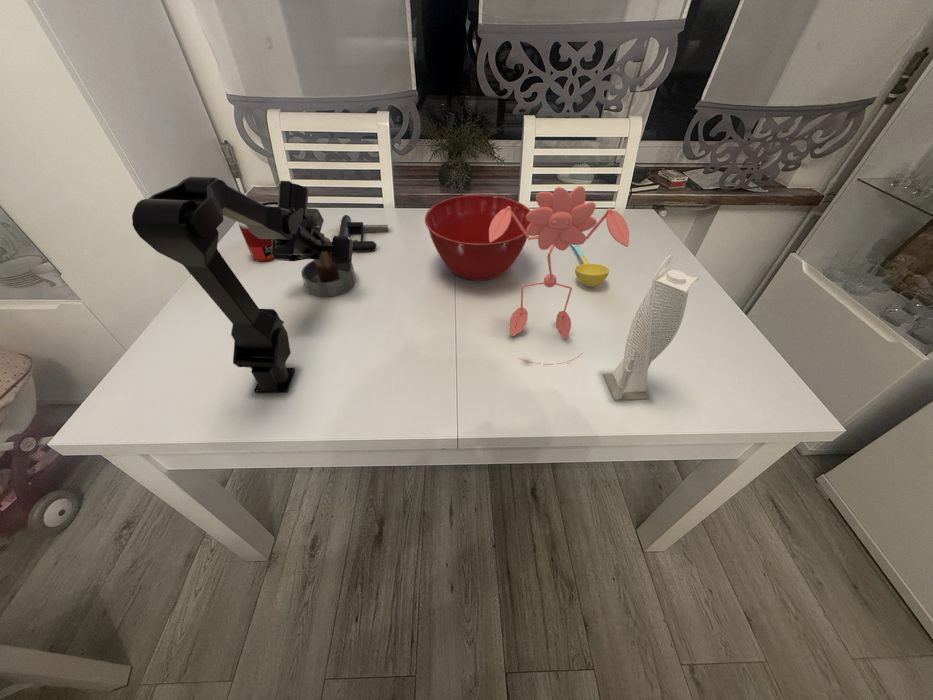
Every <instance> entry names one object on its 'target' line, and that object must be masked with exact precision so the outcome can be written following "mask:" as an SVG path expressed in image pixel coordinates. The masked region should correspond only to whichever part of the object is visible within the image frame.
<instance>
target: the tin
mask: <svg viewBox="0 0 933 700" xmlns="http://www.w3.org/2000/svg"><path fill="white" fill-rule="evenodd" d="M336 265H337V269H338V273H339V277H340V279H337V280H335V281H330V282H321V281H320V278H319V275H318V271H317V268H316V265H315V261H314V259H312V260H311V261H309V262H308V263H306V264H305V265H304V266H303V267H302V269H301V278H302V281H303V283H304V287H305V289H306V292H307V293H309V295H312V296H313V297H316V298H322V299H330V298H336V297H340V296H342V295H345V294H347V293H349V292H350V291H351V290H352V289H353V288H354V287H355V285H356V283H357V278H356V272H355V268H354V264H353V261H352V262H351V263H350V264H336Z"/></svg>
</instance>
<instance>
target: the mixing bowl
mask: <svg viewBox="0 0 933 700" xmlns="http://www.w3.org/2000/svg"><path fill="white" fill-rule="evenodd" d="M507 206H510V207H511V210H512V212H513V213H514V215H515V216H516V218H517V219H518V221H519V222H520V224H521V225H522V227H523V228H524V230H525V231H526V230H527V227H528V225H529V224H530V223H531V222H529V221H528V220H526V215H527V214H528V213H529V212H530V211H531V209H530V208H529V207H528V206H526V205H525V204H523V203H521V202H520V201H517V200H514V199H511V198H508V197H504V196H499V195H493V194H468V195H465V194H464V195H460V196H459V195H458V196H454V197H450V198H447V199H444V200H442V201H439V202H437V203H435V204H434V205H433V206H431V207H430V208H429V209H428V210H427V212H426V213H425V215H424V223H425V226H426V228H427V230H428V233H429V236H430V238H431V241H432V243H433V245H434V247H435V249H436V251H437V253H438V255H439V257H440V259H441V260H442V262H443V263H444V264H445V266H446V267H447V268H448V269H449V271H451V272H453V274H455V275H457V276H459V277H462V278H463V279H467V280H470V281H488V280H490V279H491V280H492V279H494V278H497V277H499V276H501V275H502V274H504V273H505V272H507V271H508V270H509V269H510V268H511V267H512V266H513V264H514V263H515V262H516V260H517V258H518V257H519V256H520V254H521V252H522V251H523V249H524V246H525V244H526V242H527V240H528V238H526V236H525V235H524V233H523V232H522V230H521V229H520V227H519V226H518V224H517V223H516V221H515V220H514V218H513V217H512V216H511V223H510V225H509V227H508V229H507V230H506V231H505V233H504V234H503V235H502V236H501V237H499V238H498V239H496V240H495V241H493V242H491V243H490V241H489V228H490V224H491V221H492V220H493V218H494V217H495V215H496V214H497V213H498V212H500V211H501V210H502V209H505V208H507Z"/></svg>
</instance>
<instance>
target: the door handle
mask: <svg viewBox="0 0 933 700" xmlns="http://www.w3.org/2000/svg"><path fill="white" fill-rule="evenodd" d="M364 233H389V225H388V224H364V222H363V221H352V218H351V217H350V215H348V214H344V215H343V216H342V217H341V220H340V227H339V232H338V236H348V237H350V235H360V240H358V239H357V238H356V239H352V240H353V248H352V252H353V251H354V252H357V251H358V252H361V251H363V252H364V251H365V252H367V251H369V252H370V251H375V250H376V249H377V243H376V242H375V241H374V240H364V235H365V234H364Z"/></svg>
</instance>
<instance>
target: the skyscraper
mask: <svg viewBox="0 0 933 700" xmlns="http://www.w3.org/2000/svg"><path fill="white" fill-rule="evenodd" d="M672 258H673V253H671V254H669V255H667V257H666V258H665V259H664V260H663V261H662V263H661V264H660V266H659V267H658V269H657V270H656V272H655V274H654V276H653V277H652V281H651V286H650V287H649V289H648V290H647V292H646V293H645V295H644V297H643V298H642V300H641V302H640V304H639V306H638V307H637V310H636V312H635V314H634V316H633V319H632V322H631V325H630V326H629V327H630V328H629V331H628V335H627V338H626V342H625V346H624V347H625V348H624V353H623V357H622V359H621V360H620V361H619V362H618V364H617V366H616V367H615V368H614V370H612V372H611V373H603V374H602V377H603V379H604V381H605V384H606V386H607V388H608V390H609V393H610V395H611V398H612V400H613V402H625V401H627V402H629V401H648V400H650V397H649V395H648V393H647V384H648V372H649V368H650V367H651V366H650V365H651V364H652V362H653V361H654V360H655V359H657V358H658V356H660V355H661V354H663V352H664V351H665V350H666V349H667V348H668V346H669V345H670V344H671V342H672V341H673V340H674V338H675V337H676V335H677V333H678V331H679V329H680V328H681V324H682V322H683V319H684V314H685V311H686V307H687V302H688V297H689V292H690V291H691V289H692V288H693V286H694V285H695V284H696V282H697V283H698V281H699V279H700V275H697V276H695V277H693V276H690V275H687V274H686V273H685V272H684V271H681V270H678V269H671V268H668V267H669V265H670V263H671V260H672Z"/></svg>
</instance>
